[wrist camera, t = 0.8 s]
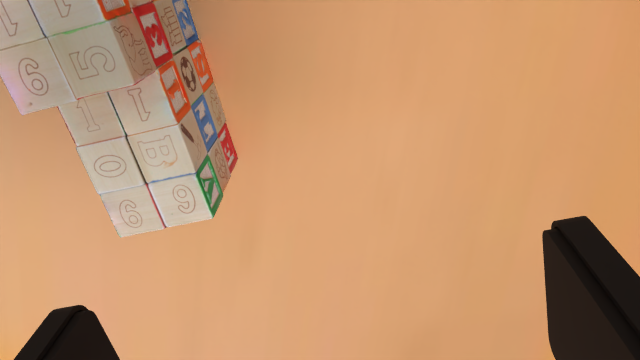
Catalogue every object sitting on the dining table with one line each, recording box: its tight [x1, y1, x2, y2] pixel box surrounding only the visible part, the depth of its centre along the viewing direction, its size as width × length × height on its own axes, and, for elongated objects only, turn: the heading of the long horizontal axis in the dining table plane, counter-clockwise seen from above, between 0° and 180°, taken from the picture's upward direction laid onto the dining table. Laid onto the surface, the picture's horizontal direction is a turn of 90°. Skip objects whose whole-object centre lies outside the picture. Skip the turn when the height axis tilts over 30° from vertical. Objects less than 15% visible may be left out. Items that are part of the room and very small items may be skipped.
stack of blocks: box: [0, 0, 238, 237], centre depth 29 cm, size 21×6×12 cm, turn 13°
